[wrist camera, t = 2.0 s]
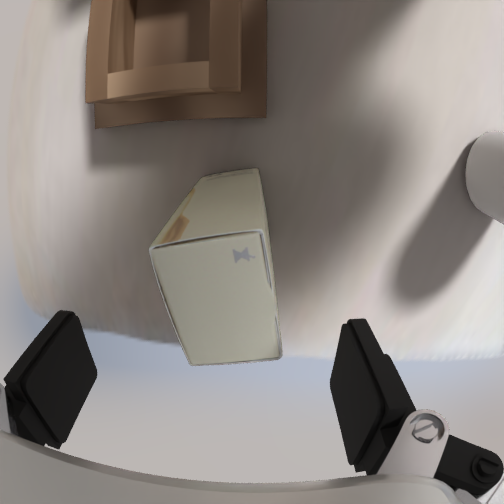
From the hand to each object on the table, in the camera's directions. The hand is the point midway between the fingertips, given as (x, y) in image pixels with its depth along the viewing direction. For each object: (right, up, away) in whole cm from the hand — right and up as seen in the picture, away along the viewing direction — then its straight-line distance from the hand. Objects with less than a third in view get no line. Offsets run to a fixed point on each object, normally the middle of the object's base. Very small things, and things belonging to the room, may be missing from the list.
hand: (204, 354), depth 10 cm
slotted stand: (-3, +19, +7) cm, 21 cm away
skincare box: (0, +6, +13) cm, 14 cm away
